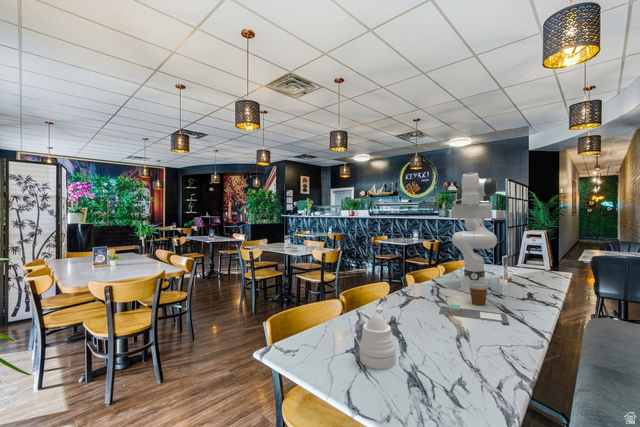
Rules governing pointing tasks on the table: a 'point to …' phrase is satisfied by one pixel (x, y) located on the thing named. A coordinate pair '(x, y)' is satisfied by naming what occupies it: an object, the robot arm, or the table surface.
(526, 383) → the table surface
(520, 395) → the table surface
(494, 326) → the table surface
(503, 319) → the rubber mat
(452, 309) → the teal flat block
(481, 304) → the disposable coffee cup
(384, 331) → the honey pot
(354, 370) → the table surface
